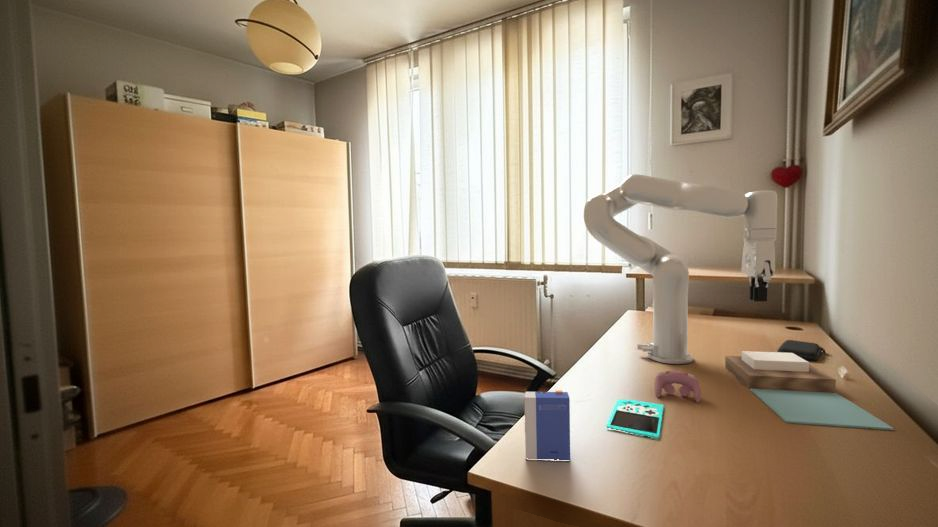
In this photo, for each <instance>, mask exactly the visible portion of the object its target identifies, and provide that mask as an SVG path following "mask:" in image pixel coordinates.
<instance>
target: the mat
mask: <svg viewBox="0 0 938 527" xmlns="http://www.w3.org/2000/svg"><path fill="white" fill-rule="evenodd" d="M749 390H750V391H751V393H752V394H753V395H754V396H756V397H757V398H758V399H759V400H760V401H761V402H763V404H765V405H766V406H767V407H768V408H770V410H771V411H773V412H774V413H775V414H776V415H777V416H778V417H780V419H781V420H782V421H784V422H785V423H787V424H798V425H799V424H800V425H814V426H815V425H816V426H826V427H827V426H828V427H829V426H830V427H840V428H841V427H842V428H857V429H858V428H859V429H869V428H870V430H872V429H873V430H883V431H885V430H886V431H894V430H895V429H894V427H892V426H890V425H889V424H888V423H886V422H885V421H882V420H881V419H879V418H877V417H876V415H875V416H874V415H873V414H872V413H870V412H868V411H866V410H865V409H863V408H862V407H860V406H859V405H857V404H855V403H853V402H852V401H850V400H849V399H847V398H845V397H844V396H842V395H840V394H839V393H837V392H835V393H825V392H807V391H789V390H770V389H752V388H750V389H749Z"/></svg>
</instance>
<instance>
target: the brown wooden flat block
mask: <svg viewBox="0 0 938 527" xmlns="http://www.w3.org/2000/svg"><path fill="white" fill-rule="evenodd" d="M724 358H725V359H724V361H725V362H724V363H725V366H724V368H725V369H726V370H727V371H728V372H729V373H730V374H731V375H732V376H734V377H735V378H736V379H737V380H738V381H739V382H740V383H742V384H743V385H744V387H746V388H747V389H748V390H750V388H752V389H770V390H789V391H807V392H825V393H836V388H837V387H836V385H837V384H836V383H837V382H836V381H837V379H836V378H834V377H832V376H830V375H829V374H827V373H825V372H824V371H822V370H819V369H818V368H816V367H815V366H813V365H811V364H809V372H804V371H782V370H759V369H753V368H752V367H751V366H749V365H748V364H747V363H745V362H744V361H743V360H742V355H741V356H739V355H738V356H737V355H736V356H734V355H725V356H724Z"/></svg>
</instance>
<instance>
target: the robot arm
mask: <svg viewBox="0 0 938 527" xmlns="http://www.w3.org/2000/svg"><path fill="white" fill-rule="evenodd" d="M637 204H641V205H646V206H652V207H657V208H661V209H665V210H667V209H668V210H673V211H687V212H689V211H690V212H697V213H701V214H708V215H714V216H716V217H718V218H720V219H723V220H725V219H727V220H729V219H734V218H740V217H741V218H742V217H743V239H742V241H743V242H744V244H743V249H742V259H741V273H742V274H744V275H745V276H746V275H747V277H748V279H749V280H748V281H749V282H748V284H749V297H748V298H749V300H751V301H753V302H767V301H768V287H769V282H771V281H772V277H773V276H774V275H775V274H776V272H775V271H776V249H775V241H777V232H778V231H777V226H778V223H777V222H778V221H777V219H778V193H777V192H776V191H775V190H769V189H768V190H767V189H766V190H755V191H754V190H753V191H750V192H747V193H743V192H741V191H738V190H735V189H729V188H725V187H718V186H713V185H705V184H699V183H691V182H687V181H681V180H673V179H668V178H662V177H655V176H649V175H644V174H629V175H627V176H626V177H624V179H622V181H621V182H620V184H619V185H617V186H616V187H613V188H612V189H611V190H608V191H606V192H605V193H596V194H593V195H591V196H590V197H589V198H588V199H587V200H586V202H585V204H584V209H583V220H584V225H585V227H586V229H587V231H588V233H589V234H590V235H591V237H592V238H594V239H595V240H596V241H597V242H599V243H600V244H602V245H603V246H604V247H606V248H607V249H608V250H610V251H611V252H613V253H614V254H616V255H617V256H618V257H620V258H622V259H624V260H625V261H626V262H627V263H628V264H630V265H631V266H633V267H637V268H640V269H641V270H643V271H644V272H646V273H648V274H649V275H650V276H652V340H650V343H647V344H643V343H637V344H636V350H637V351H642V352H644V353H645V352H647V357H648V358H649V359H650V360H652V361H655V362H659V363H663V364H671V365H685V364H690V363H692V362H693V361H694V356H693V355H692V354H691V353H689V352H688V326H689V325H688V321H689V318H688V317H689V316H688V312H689V309H688V305H689V303H688V302H689V301H688V300H689V298H688V297H689V283H690V282H689V281H690V273H689V272H690V271H689V268H688V265H687V263H686V262H685V261H684V260H683V259H682V258H681V257H679V256H678V255H676V254H675V253H673V252H671V251H670V250H668V249H666V248H665V247H663V246H662V245H661V244H658V243H657V242H655V241H653V240H652V239H650V238H648V237H646V236H643V235H640V234H638V233H636V232H634V231H633V230H632V229H629V228H628V227H626V226H625V225H623V224H622V223H620V222H619V221H617V220H616V219H615V218H614V217H616V216H618V215H619V214H622V213H623V212H625V211H627V210H628V209H631V208H633V207H635V205H637Z"/></svg>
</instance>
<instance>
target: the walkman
mask: <svg viewBox="0 0 938 527" xmlns="http://www.w3.org/2000/svg"><path fill="white" fill-rule="evenodd" d="M570 403H571V400H570V395H569V392H568V391H563V390H558V389H557V390H555V391H525V394H524V396H523V414H524V438H525V441H524V442H525V459H526V458H528V459H554V460H557V459H559V460H570V461H571V420H570V417H571V416H570V415H571V412H570V411H571V410H570V407H571V406H570V405H571V404H570Z"/></svg>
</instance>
